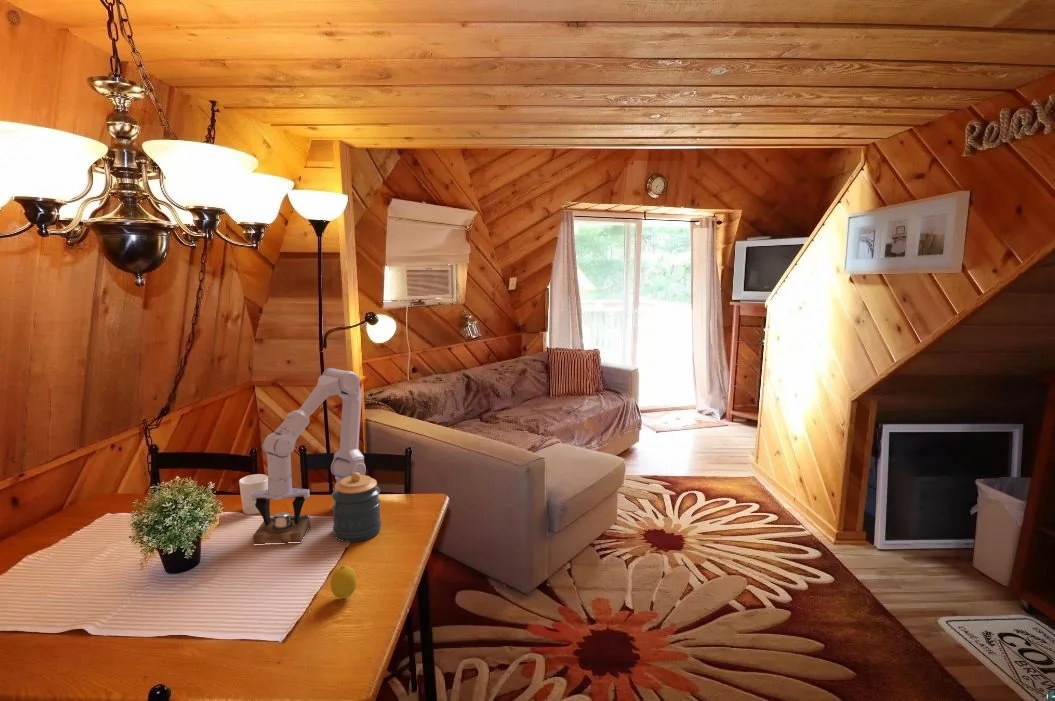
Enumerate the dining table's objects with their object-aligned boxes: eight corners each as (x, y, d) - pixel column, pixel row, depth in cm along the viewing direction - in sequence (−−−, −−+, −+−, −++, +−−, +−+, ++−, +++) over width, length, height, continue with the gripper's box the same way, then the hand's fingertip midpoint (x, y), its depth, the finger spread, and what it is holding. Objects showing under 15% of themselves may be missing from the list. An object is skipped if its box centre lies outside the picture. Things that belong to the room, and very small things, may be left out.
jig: (310, 526, 155) (309, 514, 155) (300, 543, 145) (300, 531, 145) (266, 528, 153) (265, 516, 153) (253, 546, 143) (252, 533, 143)
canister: (367, 545, 145) (365, 483, 142) (323, 540, 147) (321, 478, 145) (389, 524, 157) (387, 466, 155) (348, 519, 160) (346, 462, 157)
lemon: (359, 591, 124) (358, 559, 123) (352, 606, 119) (351, 572, 117) (335, 591, 124) (334, 559, 123) (327, 606, 118) (326, 572, 117)
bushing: (292, 531, 152) (291, 511, 151) (289, 538, 148) (288, 517, 147) (277, 532, 151) (275, 512, 150) (273, 539, 147) (272, 519, 146)
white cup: (235, 513, 162) (232, 481, 161) (255, 502, 170) (253, 472, 168) (256, 517, 160) (254, 485, 159) (275, 506, 167) (273, 475, 166)
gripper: (246, 483, 142) (249, 531, 144) (304, 480, 144) (306, 528, 146) (255, 473, 149) (258, 519, 151) (310, 471, 151) (312, 516, 153)
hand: (282, 523), depth 149 cm, fingers open, 7 cm apart
